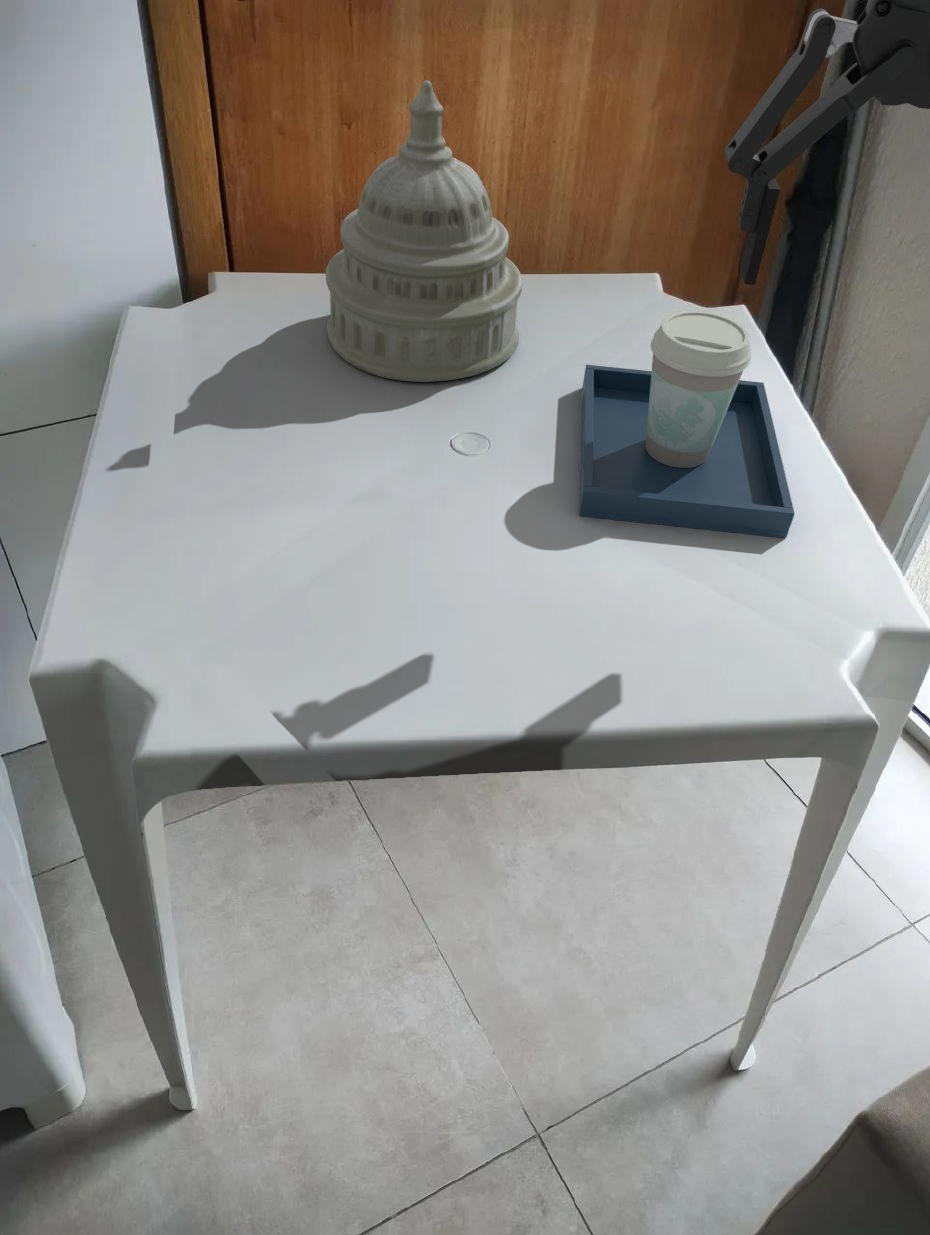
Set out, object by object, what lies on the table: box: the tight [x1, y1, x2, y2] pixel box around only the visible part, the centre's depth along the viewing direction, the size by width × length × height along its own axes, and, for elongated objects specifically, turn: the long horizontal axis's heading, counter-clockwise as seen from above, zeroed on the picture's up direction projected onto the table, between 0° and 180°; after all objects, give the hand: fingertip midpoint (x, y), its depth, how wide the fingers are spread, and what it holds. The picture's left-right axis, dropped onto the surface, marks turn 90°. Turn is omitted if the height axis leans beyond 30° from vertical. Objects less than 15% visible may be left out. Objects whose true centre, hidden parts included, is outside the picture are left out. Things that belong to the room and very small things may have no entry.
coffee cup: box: [646, 310, 752, 468], centre depth 88 cm, size 9×8×12 cm
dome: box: [325, 80, 523, 383], centre depth 98 cm, size 20×25×20 cm
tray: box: [578, 364, 795, 539], centre depth 92 cm, size 22×18×3 cm
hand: (843, 286), depth 71 cm, fingers open, 13 cm apart
